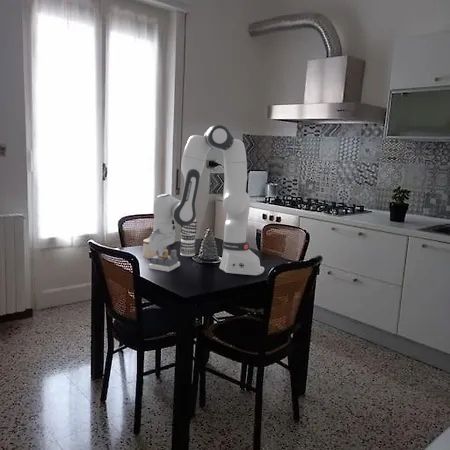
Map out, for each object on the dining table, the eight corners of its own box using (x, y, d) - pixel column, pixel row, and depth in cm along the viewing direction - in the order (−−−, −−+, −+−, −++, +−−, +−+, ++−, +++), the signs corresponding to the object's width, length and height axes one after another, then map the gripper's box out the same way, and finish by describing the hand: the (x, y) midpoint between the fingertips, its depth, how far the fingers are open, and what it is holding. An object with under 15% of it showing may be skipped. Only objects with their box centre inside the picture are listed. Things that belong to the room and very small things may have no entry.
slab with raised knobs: (179, 265, 222) (180, 249, 220) (168, 271, 211) (169, 254, 209) (160, 262, 226) (160, 246, 224) (148, 268, 215) (148, 251, 213)
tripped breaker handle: (167, 256, 218) (168, 249, 217) (165, 257, 215) (165, 250, 215) (163, 256, 219) (163, 249, 218) (161, 257, 216) (161, 250, 216)
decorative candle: (197, 252, 250) (198, 209, 245) (194, 256, 240) (196, 211, 236) (181, 251, 250) (182, 208, 246) (178, 255, 241) (179, 210, 237)
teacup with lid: (159, 259, 232) (160, 237, 230) (142, 259, 231) (142, 237, 229) (159, 253, 244) (160, 233, 242) (143, 253, 243) (143, 232, 241)
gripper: (157, 232, 201) (157, 261, 203) (177, 225, 220) (177, 252, 222) (145, 230, 203) (145, 259, 205) (166, 224, 222) (165, 250, 224)
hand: (162, 255), depth 214 cm, fingers closed
